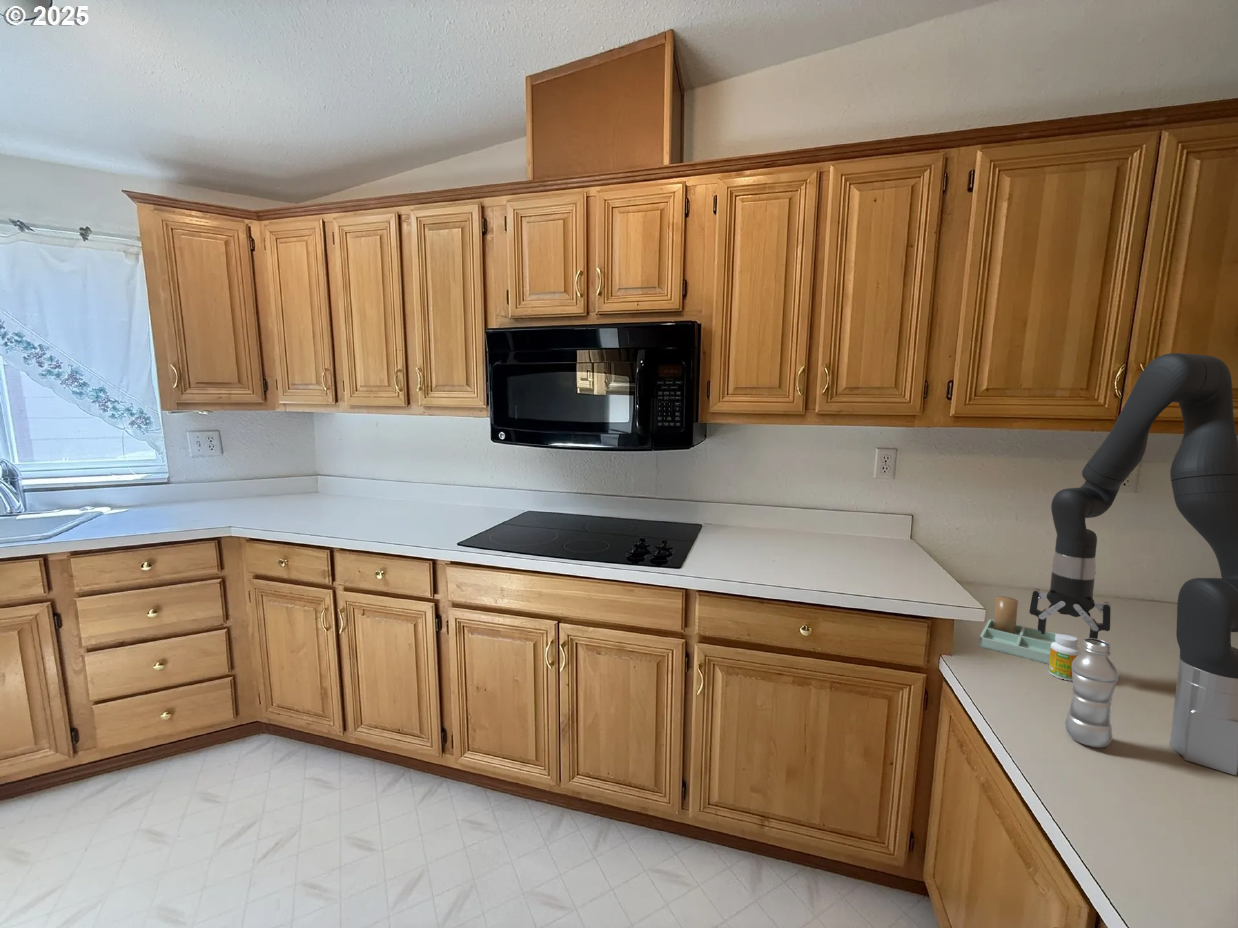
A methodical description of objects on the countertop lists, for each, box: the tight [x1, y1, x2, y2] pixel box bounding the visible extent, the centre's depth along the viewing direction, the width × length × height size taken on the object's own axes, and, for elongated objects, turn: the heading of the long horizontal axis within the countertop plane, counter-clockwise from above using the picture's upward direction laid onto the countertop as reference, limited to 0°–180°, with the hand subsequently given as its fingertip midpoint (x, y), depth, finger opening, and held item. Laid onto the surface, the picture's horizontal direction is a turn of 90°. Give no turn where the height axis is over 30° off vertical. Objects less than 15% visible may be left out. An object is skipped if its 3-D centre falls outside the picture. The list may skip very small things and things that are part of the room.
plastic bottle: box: [1064, 637, 1120, 749], centre depth 98 cm, size 6×7×20 cm
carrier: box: [978, 618, 1057, 665], centre depth 139 cm, size 16×16×2 cm
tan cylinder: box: [994, 595, 1019, 634], centre depth 143 cm, size 5×5×10 cm
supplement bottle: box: [1048, 632, 1082, 682], centre depth 123 cm, size 5×5×10 cm
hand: (1066, 638), depth 123 cm, fingers open, 8 cm apart
